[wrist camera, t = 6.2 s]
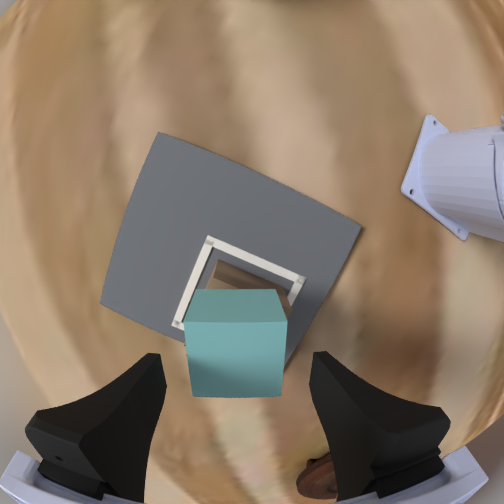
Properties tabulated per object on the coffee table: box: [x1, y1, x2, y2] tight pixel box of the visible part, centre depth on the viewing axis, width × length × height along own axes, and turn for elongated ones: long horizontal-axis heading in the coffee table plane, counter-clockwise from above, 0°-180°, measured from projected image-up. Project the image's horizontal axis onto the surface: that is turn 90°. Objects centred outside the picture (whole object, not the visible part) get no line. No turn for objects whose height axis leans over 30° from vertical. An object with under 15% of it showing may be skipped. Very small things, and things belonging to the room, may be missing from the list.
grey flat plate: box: [100, 132, 362, 366], centre depth 19 cm, size 16×14×1 cm
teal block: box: [183, 289, 288, 398], centre depth 14 cm, size 4×4×4 cm
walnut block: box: [184, 259, 292, 346], centre depth 18 cm, size 5×5×4 cm
